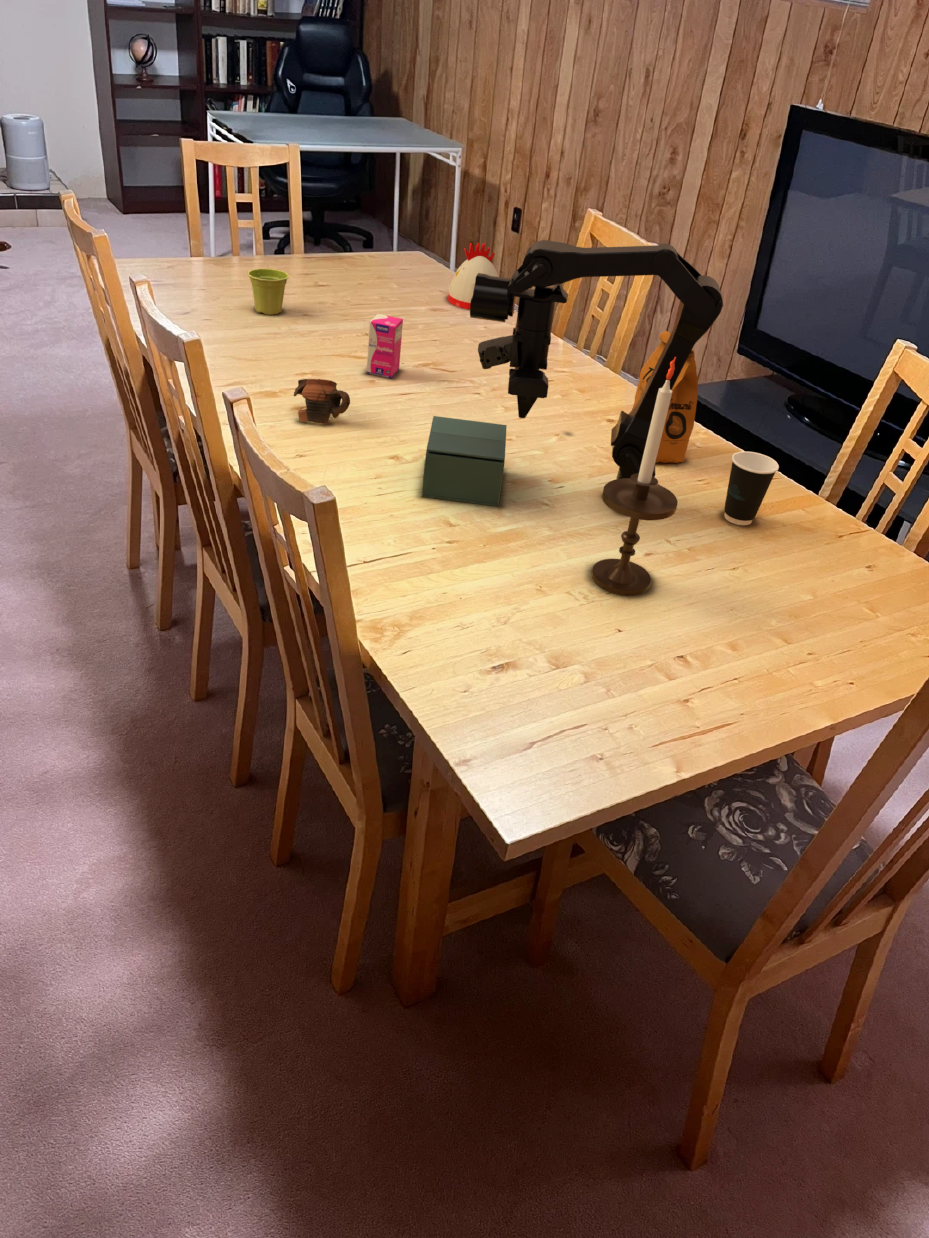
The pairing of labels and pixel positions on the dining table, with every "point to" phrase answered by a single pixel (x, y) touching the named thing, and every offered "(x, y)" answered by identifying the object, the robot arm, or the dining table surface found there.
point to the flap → (468, 428)
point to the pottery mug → (321, 400)
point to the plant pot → (268, 289)
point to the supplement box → (384, 345)
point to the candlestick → (637, 507)
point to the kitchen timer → (470, 275)
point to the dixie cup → (748, 485)
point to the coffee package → (674, 405)
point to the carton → (463, 469)
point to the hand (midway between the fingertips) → (521, 417)
